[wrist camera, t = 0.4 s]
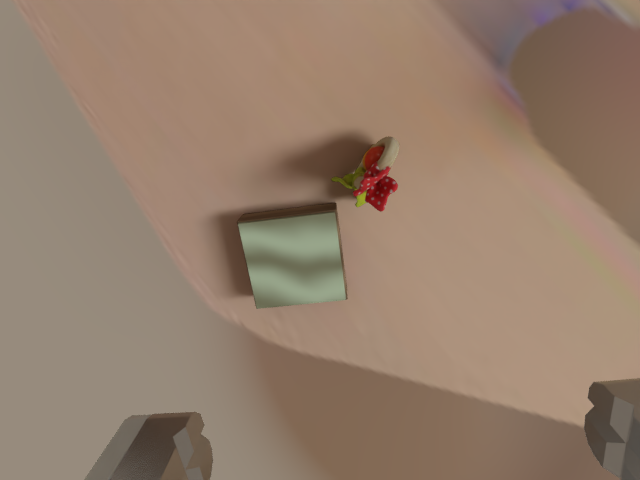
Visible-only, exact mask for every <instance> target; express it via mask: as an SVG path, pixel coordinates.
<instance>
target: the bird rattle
mask: <svg viewBox="0 0 640 480" xmlns="http://www.w3.org/2000/svg"><path fill="white" fill-rule="evenodd" d="M398 151H399V143H398V142H397V140H396V139H394V138H393V137H385V138H383V139H381V140H380V141H378V142H377V143H376V144H373V145H372V146H371V148H370V149H369V150H368V151H367V152H366V153H365V154H364V157H363V159H362V161H361V163H360V164H359V166H358V168H357V169H356V171H355V173H354V174H347V175H345V176H344V177H343V179H342V178H339V177H333V178H332V179H331V180H332V181H334V182H340V183H341V184H342V185H344V186H345V187H346V188H350V189H351V188H354V190H355V191H354V192H353V195H354V196H356V198H357V203H356V204H355V205H356V207H359V206H361V205H363V204H364V203H366V202H369V203H370V204H371V205H372V206H374V207H375V208H376V209H377V210H379V211H383V210H384V209H385V205H386V202H387V198H388V196H389V195H390V194H391V193H393V192H395V191H396V190H397V187H398V185H397V183H396V181H395V180H394V179H392V178H390V177H388V176H387V175H388V172H389V170H390V168H391V166H392V165H393V163H394V161H395V159H396V157H397V154H398Z"/></svg>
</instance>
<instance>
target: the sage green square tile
mask: <svg viewBox="0 0 640 480" xmlns="http://www.w3.org/2000/svg"><path fill="white" fill-rule="evenodd" d="M237 224H238V228H239V232H240V237H241V241H242V246H243V250H244V255H245V259H246V264H247V268H248V273H249V277H250V282H251V286H252V291H253V295H254V299H255V304H256V308H257V309H259V308H269V307H279V306H289V305H299V304H309V303H319V302H329V301H340V300H346V299H347V285H346V277H345V269H344V261H343V253H342V245H341V237H340V229H339V221H338V213H337V205H336V203H330V204H322V205H314V206H305V207H297V208H289V209H281V210H273V211H265V212H256V213H248V214H243V215H242V216H241V218H240V219H239V220H238V221H237Z"/></svg>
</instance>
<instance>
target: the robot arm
mask: <svg viewBox="0 0 640 480" xmlns="http://www.w3.org/2000/svg"><path fill="white" fill-rule="evenodd" d="M588 399H589V400H590V401H591V402H592V404H593V405H594V407H593V408H592V409H591V410H590V411H589V412H588V413H587V414H586V415H585V425H584V430H585V433H586V437H587V441H588V444H589V446H590V448H591V450H592V452H593V454H594V456H595V457H596V459H597V460H598V461H599V463H600V464H601V466H602V467H603V468H604V469H606V470H608V471H609V472H611V473H612V474H614V475H616V476H617V477H619V478H620V480H640V378H637V379H625V380H613V381H601V382H593V384H592V385H591V386H590V388H589V393H588ZM203 427H204V423H203V420H202V417H201V414H199V413H197V412H186V413H164V414H152V415H132V416H130V417H129V418H127V419H126V420H125V421H124V422H123V423H122V425H121V426H120V428H119V429H118V431H117V432H116V434H115V435H114V437H113V438H112V440H111V441H110V443H109V444H108V445H107V447H106V449H105V450H104V451H103V453H102V454H101V456H100V457H99V459H98V460H97V462H96V463H95V465H94V466H93V468H92V469H91V471H90V472H89V474H88V475H87V477H86V478H85V480H210V477H211V471H212V463H213V456H212V448H211V445H210V442H209V440H208V439H207V438H206V437H204V436H203V435H201V432H202V430H203Z"/></svg>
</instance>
